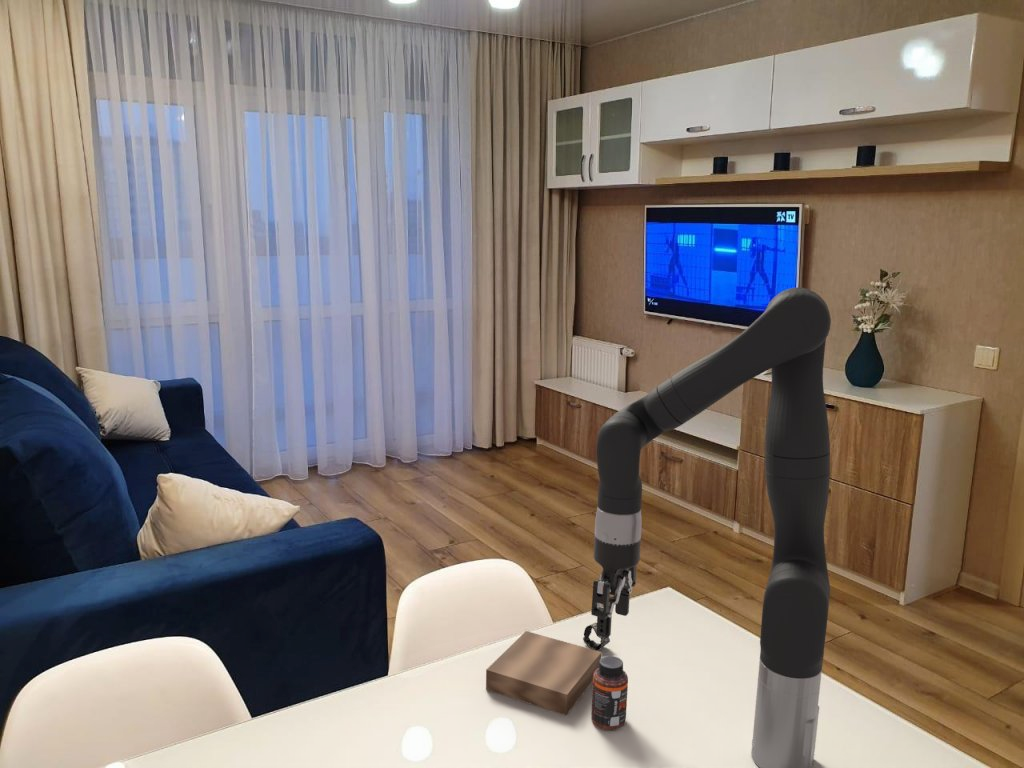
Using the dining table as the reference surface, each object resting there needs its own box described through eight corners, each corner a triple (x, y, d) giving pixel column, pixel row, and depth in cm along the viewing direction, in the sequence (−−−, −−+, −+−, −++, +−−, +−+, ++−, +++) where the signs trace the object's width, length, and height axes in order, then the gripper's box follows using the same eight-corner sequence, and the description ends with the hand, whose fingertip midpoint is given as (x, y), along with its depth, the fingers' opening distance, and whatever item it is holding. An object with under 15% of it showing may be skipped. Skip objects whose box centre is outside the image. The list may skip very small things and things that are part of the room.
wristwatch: (589, 656, 164) (604, 645, 161) (578, 632, 166) (592, 621, 163) (600, 652, 166) (614, 641, 163) (588, 628, 168) (602, 618, 166)
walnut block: (600, 671, 156) (601, 651, 155) (566, 715, 142) (567, 694, 141) (525, 649, 163) (526, 630, 162) (485, 689, 149) (486, 669, 149)
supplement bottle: (624, 734, 137) (627, 673, 135) (589, 729, 139) (591, 668, 136) (627, 713, 143) (630, 654, 141) (592, 709, 144) (595, 650, 142)
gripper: (624, 554, 126) (619, 650, 129) (653, 523, 138) (648, 612, 142) (579, 544, 129) (575, 637, 133) (611, 515, 141) (607, 602, 145)
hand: (612, 624), depth 137 cm, fingers open, 8 cm apart
